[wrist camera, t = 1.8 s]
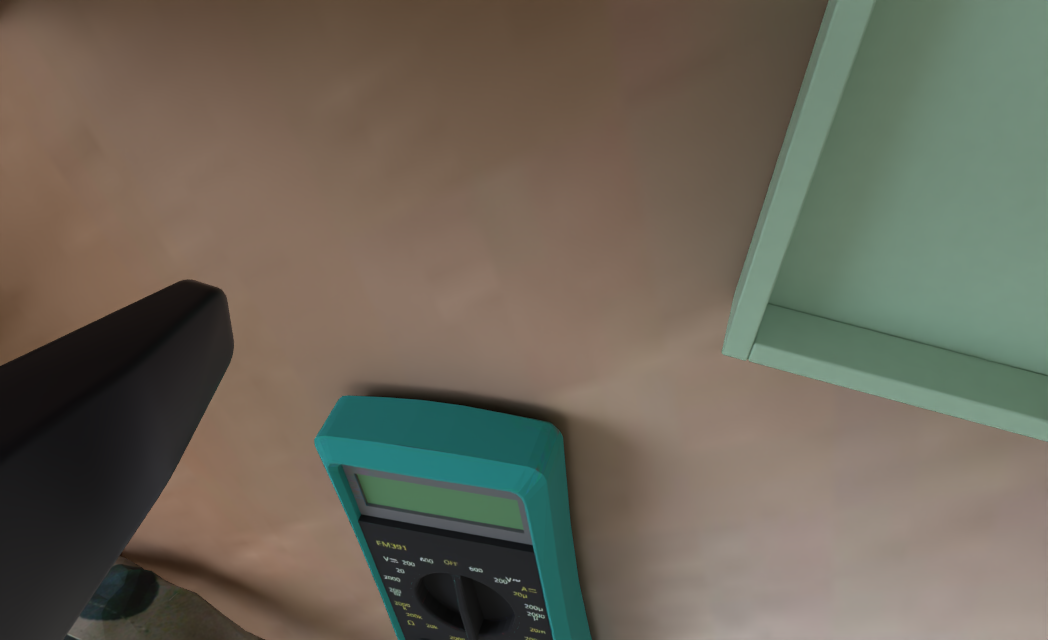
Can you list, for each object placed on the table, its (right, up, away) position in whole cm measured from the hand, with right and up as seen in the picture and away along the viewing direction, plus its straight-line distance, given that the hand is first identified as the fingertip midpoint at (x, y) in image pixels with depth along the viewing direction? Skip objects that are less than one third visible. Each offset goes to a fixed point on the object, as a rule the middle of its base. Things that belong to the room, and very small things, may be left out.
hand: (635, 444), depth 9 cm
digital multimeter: (-2, -6, +24) cm, 25 cm away
